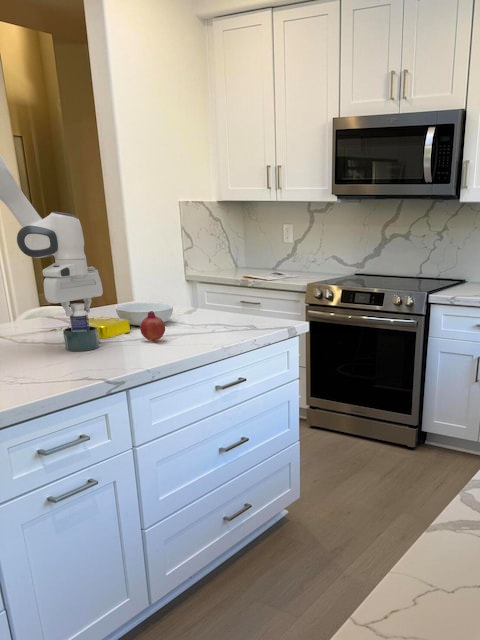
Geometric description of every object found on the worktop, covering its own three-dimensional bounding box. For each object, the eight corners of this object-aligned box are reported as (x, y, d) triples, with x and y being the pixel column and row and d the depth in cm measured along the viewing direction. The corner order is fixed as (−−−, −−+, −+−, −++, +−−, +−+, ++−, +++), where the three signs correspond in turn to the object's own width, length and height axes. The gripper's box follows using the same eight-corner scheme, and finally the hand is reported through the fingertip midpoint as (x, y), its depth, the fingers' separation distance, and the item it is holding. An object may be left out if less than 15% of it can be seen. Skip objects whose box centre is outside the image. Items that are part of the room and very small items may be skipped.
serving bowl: (154, 332, 220) (152, 313, 217) (105, 327, 226) (103, 309, 224) (184, 321, 238) (183, 304, 236) (139, 317, 245) (137, 300, 242)
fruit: (165, 343, 201) (162, 313, 197) (140, 344, 200) (137, 313, 196) (167, 338, 208) (164, 308, 205) (142, 338, 207) (139, 309, 203)
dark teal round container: (74, 352, 186) (71, 333, 184) (60, 347, 193) (57, 328, 191) (104, 347, 193) (102, 329, 191) (90, 343, 200) (88, 325, 198)
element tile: (69, 335, 210) (67, 322, 208) (99, 327, 223) (97, 314, 221) (104, 339, 205) (102, 325, 203) (132, 331, 218) (131, 318, 216)
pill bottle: (92, 335, 191) (88, 304, 188) (74, 337, 188) (70, 306, 185) (88, 332, 195) (83, 302, 192) (70, 334, 192) (66, 303, 189)
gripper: (89, 265, 195) (95, 309, 199) (37, 271, 177) (44, 318, 182) (104, 266, 192) (109, 310, 197) (53, 272, 175) (60, 320, 180)
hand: (78, 314), depth 189 cm, fingers closed on pill bottle, 5 cm apart
